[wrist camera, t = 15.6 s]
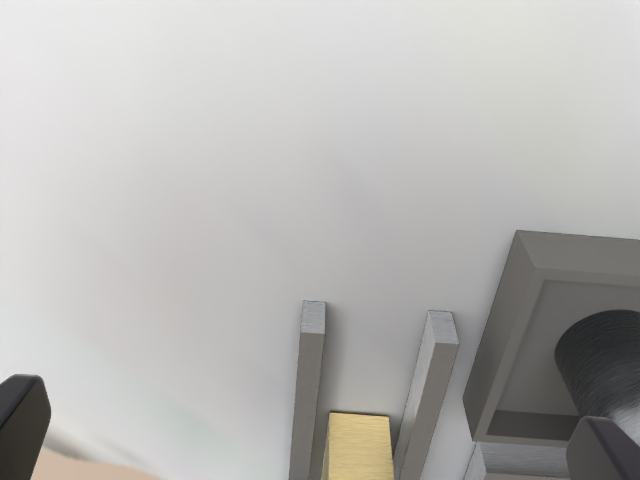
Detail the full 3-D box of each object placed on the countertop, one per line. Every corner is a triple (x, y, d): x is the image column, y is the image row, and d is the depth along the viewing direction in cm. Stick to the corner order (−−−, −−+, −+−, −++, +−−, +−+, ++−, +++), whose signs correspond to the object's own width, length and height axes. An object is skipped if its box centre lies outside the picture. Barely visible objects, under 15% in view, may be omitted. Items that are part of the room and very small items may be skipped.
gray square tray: (761, 249, 23) (803, 288, 21) (660, 413, 28) (685, 456, 26) (516, 230, 23) (534, 267, 21) (462, 398, 28) (472, 441, 26)
